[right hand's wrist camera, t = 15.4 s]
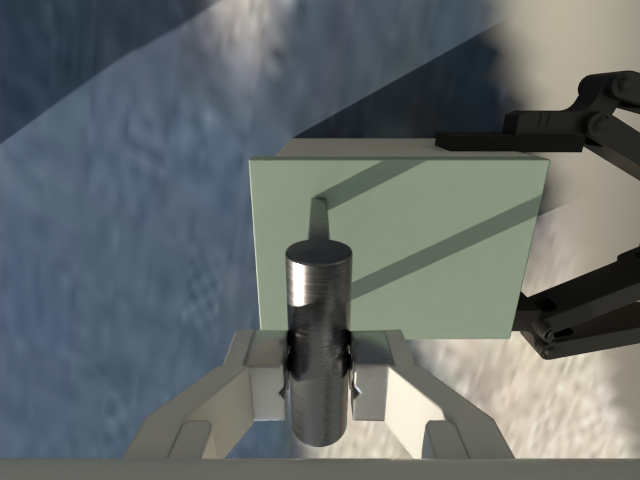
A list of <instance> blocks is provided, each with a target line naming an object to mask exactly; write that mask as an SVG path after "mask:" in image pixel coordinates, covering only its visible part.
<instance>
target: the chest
mask: <svg viewBox="0 0 640 480" xmlns="http://www.w3.org/2000/svg"><path fill="white" fill-rule="evenodd" d="M276 156H533V155H529V154H525V153H520V152H451V151H448V150H445V149H443V148H440V147H437V146H435V138H291V139H290V140H289V141H288V143H287V144H286V145H285V146H284V147H283V148H282V149H281V151H280V152H279V153H278V154H277V155H276Z"/></svg>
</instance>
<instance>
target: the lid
mask: <svg viewBox="0 0 640 480" xmlns="http://www.w3.org/2000/svg"><path fill="white" fill-rule="evenodd" d="M549 163H550V160H549V159H545V158H541V157H537V156H253V157H252V158H251V159H250V160H249V170H250V184H251V199H252V213H253V228H254V242H255V256H256V271H257V285H258V299H259V314H260V328H261V330H288V332H289V358H290V398H291V424H292V429H293V432H294V434H295V435H296V437H297V438H298V439H299V440H300V441H302V442H303V443H305V444H307V445H310V446H314V447H324V446H328V445H331V444H333V443H335V442H337V441H338V440H339V439H340V438H341V437H342V435H343V434H344V432H345V430H346V426H347V403H348V376H349V375H348V366H349V337H350V331H366V330H394V329H400V330H402V332H403V334H404V337H405V339H510V335H511V331H512V327H513V322H514V318H515V313H516V309H517V305H518V300H519V296H520V291H521V287H522V283H523V278H524V274H525V269H526V265H527V260H528V256H529V252H530V247H531V243H532V238H533V234H534V230H535V225H536V221H537V216H538V212H539V208H540V203H541V199H542V194H543V190H544V185H545V181H546V177H547V172H548V168H549Z"/></svg>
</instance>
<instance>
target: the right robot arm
mask: <svg viewBox="0 0 640 480" xmlns="http://www.w3.org/2000/svg"><path fill="white" fill-rule="evenodd" d="M349 348H350V354H349V366H348V375H349V388H350V389H351V406H352V415H353V420H364V421H384V423H385V424H386V425H387V426H388V428H389V429H390V430H391V431H392V433H393V434H394V435H395V436H396V437H397V439H398V440H399V441H400V442H401V443H402V445H403V446H404V447H405V448H406V450H407V451H408V452H409V453H410V454H411V456H412V457H413V458H414V459H280V458H263V459H224V458H225V457H226V456H227V454H228V453H229V452H230V451H231V450H232V448H233V447H234V446H235V445H236V444H237V442H238V441H239V440H240V439H241V438H242V436H243V435H244V434H245V433H246V432H247V430H248V429H249V428H250V427H251V426H252V424H253V423H254V421H274V420H285V416H286V408H287V390H288V389H289V380H290V358H289V354H288V350H289V332H288V330H237V331H236V332H235V335H234V337H233V340H232V343H231V345H230V348H229V351H228V353H227V356H226V359H225V361H224V364H223V366H217V367H216V368H214V369H213V370H211V371H210V372H209V373H207V374H206V375H204V376H203V377H202V378H200V379H199V380H198V381H196V382H195V383H193V384H192V385H191V386H189V387H188V388H186V389H185V390H184V391H182V392H181V393H179V394H178V395H177V396H175V397H174V398H172V399H171V400H170V401H168V402H167V403H165V404H164V405H163V406H161V407H160V408H158V409H157V410H156V411H154V412H153V413H152V414H150V415H149V416H147V417H146V418H145V419H144V420H143V422H142V424H141V426H140V427H139V429H138V431H137V433H136V434H135V436H134V438H133V440H132V441H131V443H130V445H129V447H128V449H127V450H126V452H125V454H124V456H123V457H122V459H100V458H0V480H640V459H515V457H514V455H513V454H512V452H511V450H510V448H509V446H508V444H507V443H506V441H505V439H504V437H503V435H502V434H501V432H500V430H499V428H498V426H497V424H496V423H495V421H494V419H493V418H491V417H490V416H488V415H487V414H486V413H484V412H483V411H482V410H480V409H479V408H477V407H476V406H475V405H473V404H472V403H471V402H469V401H468V400H466V399H465V398H464V397H462V396H461V395H460V394H458V393H457V392H455V391H454V390H453V389H451V388H450V387H449V386H447V385H446V384H444V383H443V382H442V381H440V380H439V379H437V378H436V377H435V376H433V375H432V374H431V373H429V372H428V371H426V370H425V369H424V368H422V367H421V366H415V364H414V361H413V359H412V356H411V353H410V351H409V348H408V345H407V343H406V340H405V337H404V334H403V332H402V330H400V329H394V330H366V331H350V337H349Z"/></svg>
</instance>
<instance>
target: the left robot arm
mask: <svg viewBox="0 0 640 480" xmlns="http://www.w3.org/2000/svg"><path fill="white" fill-rule="evenodd" d="M578 94H579V96H578V97H577V99H576V101H575V102H574V104H573V105H571V106H570V107H569V108H567V109H565V110H561V111H513V112H511V113H508V114H506V115H505V120H504V125H503V131H502V132H436V138H435V146H437V147H440V148H443V149H445V150H448V151H451V152H582V149H583V146H584V147H586V148H587V149H589V150H591V151H592V152H594V153H595V154H597V155H599V156H600V157H602V158H604V159H605V160H607V161H609V162H610V163H612V164H613V165H615V166H617V167H618V168H620V169H622V170H623V171H625V172H626V173H628V174H630V175H631V176H633V177H635V178H636V179H638V180H640V133H639V132H638V131H636V130H635V129H633V128H632V127H630V126H629V125H627V124H625V123H624V122H622V121H621V120H619V119H618V118H616V117H615V116H613V115H612V114H613V112H614V111H615V109H616V108H619V109H623V110H627V111H630V112H634V113H637V114H640V73H638V72H635V71H619V72H610V73H601V74H592V75H588V76H586V77H585V78H583V79H582V80H581V82H580V83H579V86H578ZM638 300H640V245H639V247H637V248H634V249H632V250H629V251H627V252H624V253H622V254H620V255H618V257H617V261H616V262H614V263H611V264H609V265H606V266H604V267H601V268H599V269H597V270H594V271H592V272H589V273H587V274H584V275H582V276H579V277H577V278H574V279H572V280H569V281H567V282H565V283H562V284H560V285H557V286H555V287H552V288H550V289H547V290H545V291H542V292H540V293H537V294H535V295H533V296H530V297H528V298H527V297H526V296H525V295H524V294H523V293H522V292H521V291H520V296H519V300H518V305H517V309H516V313H515V318H514V322H513V327H512V331H520V333H521V334H522V336H523V337H524V338H525V339H526V340H527V341H528V342H529V344H530V345H531V346H532V347H533V348H534V349H535V350H536V352H537V353H538V354H539V355H540V356H541V357H542V358H543V359H546V360H551V359H556V358H561V357H567V356H572V355H578V354H583V353H589V352H594V351H600V350H605V349H610V348H616V347H621V346H627V345H632V344H638V343H640V302H636V301H638Z"/></svg>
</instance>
